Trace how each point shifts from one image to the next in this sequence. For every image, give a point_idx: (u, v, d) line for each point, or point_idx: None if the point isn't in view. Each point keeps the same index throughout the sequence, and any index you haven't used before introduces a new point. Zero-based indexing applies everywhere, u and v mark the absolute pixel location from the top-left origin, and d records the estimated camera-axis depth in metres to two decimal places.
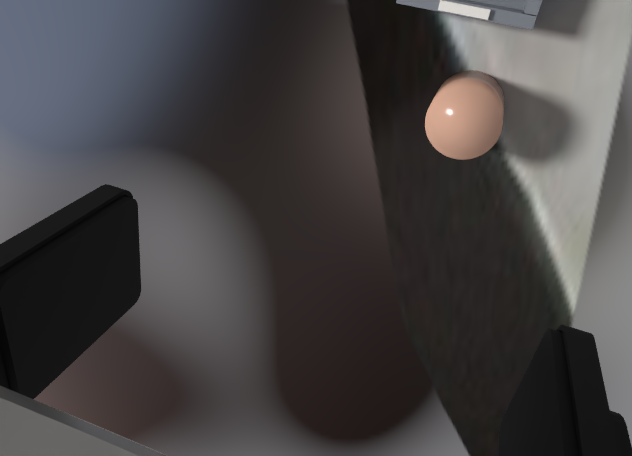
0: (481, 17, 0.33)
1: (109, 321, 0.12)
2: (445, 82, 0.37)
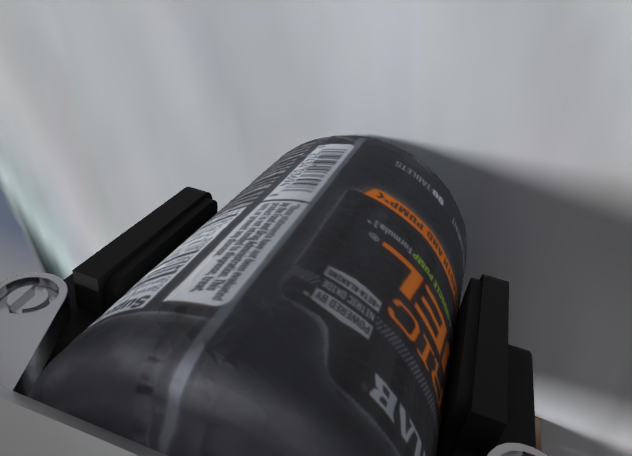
0: None
1: None
2: None
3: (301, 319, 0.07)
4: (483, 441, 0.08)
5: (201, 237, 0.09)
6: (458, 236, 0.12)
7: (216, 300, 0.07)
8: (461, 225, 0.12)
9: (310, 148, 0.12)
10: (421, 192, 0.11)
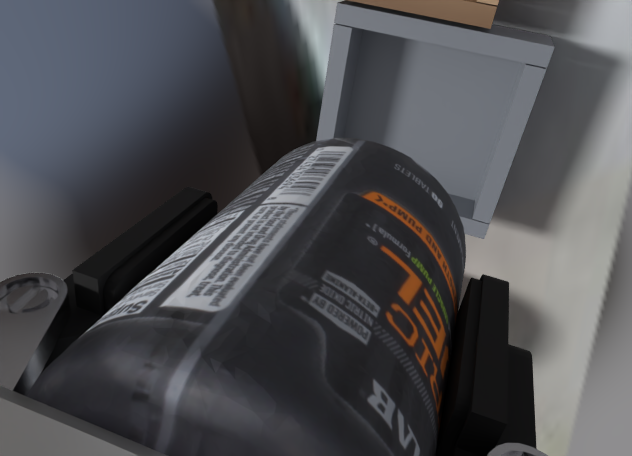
0: None
1: None
2: None
3: (300, 324, 0.06)
4: (483, 441, 0.08)
5: (199, 241, 0.09)
6: (457, 239, 0.12)
7: (213, 306, 0.06)
8: (460, 228, 0.12)
9: (309, 150, 0.12)
10: (420, 195, 0.11)
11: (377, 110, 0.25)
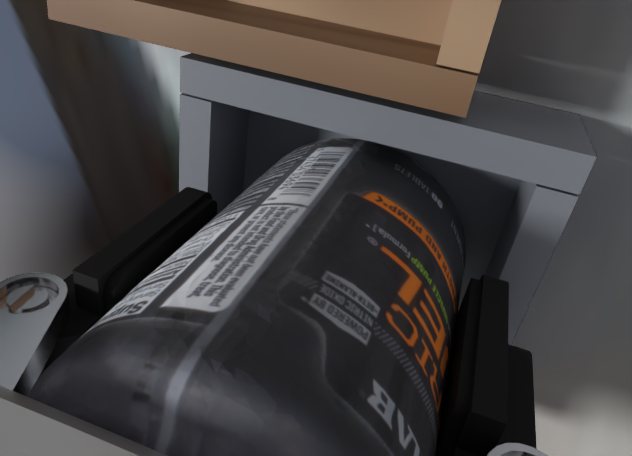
0: None
1: None
2: None
3: (299, 325, 0.06)
4: (483, 441, 0.08)
5: (199, 241, 0.09)
6: (457, 239, 0.12)
7: (214, 306, 0.07)
8: (460, 228, 0.12)
9: (309, 151, 0.12)
10: (420, 195, 0.11)
11: None
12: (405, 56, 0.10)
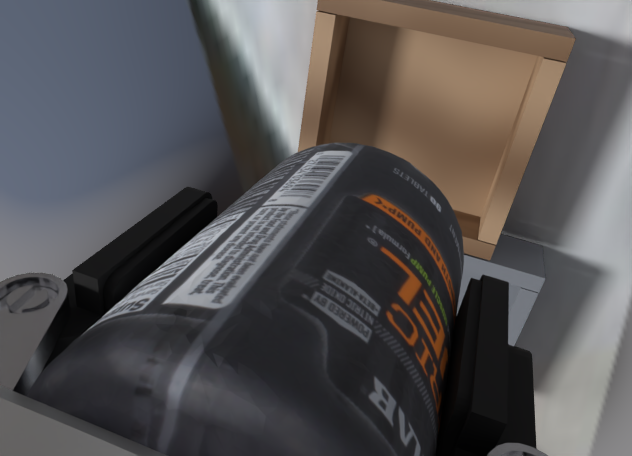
0: None
1: None
2: None
3: (300, 322, 0.07)
4: (483, 441, 0.08)
5: (200, 242, 0.09)
6: (456, 243, 0.12)
7: (215, 303, 0.07)
8: (458, 232, 0.12)
9: (308, 155, 0.12)
10: (419, 199, 0.11)
11: None
12: (463, 233, 0.23)
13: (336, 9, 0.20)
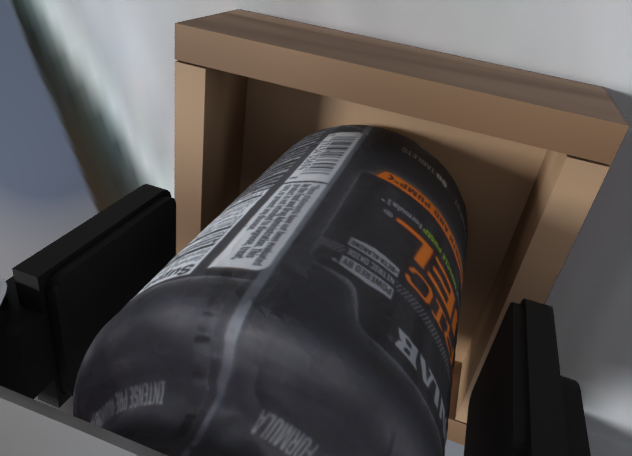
0: None
1: None
2: None
3: (332, 280, 0.07)
4: None
5: (230, 216, 0.09)
6: (461, 216, 0.13)
7: (256, 266, 0.07)
8: (463, 207, 0.13)
9: (321, 136, 0.13)
10: (426, 175, 0.12)
11: None
12: None
13: (206, 59, 0.12)
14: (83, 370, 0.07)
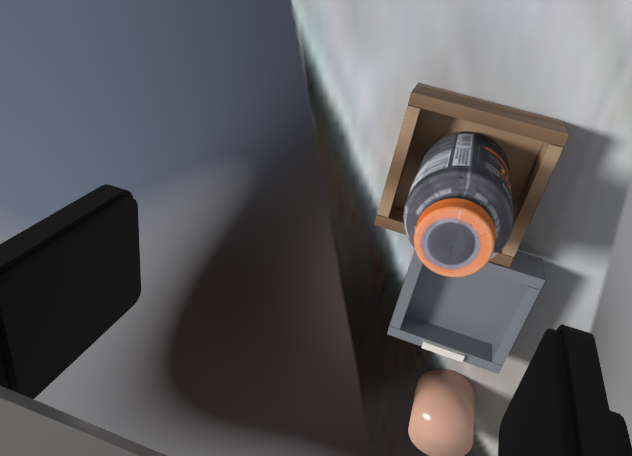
0: (457, 359, 0.39)
1: (109, 321, 0.12)
2: (426, 380, 0.44)
3: (486, 169, 0.28)
4: None
5: (443, 157, 0.30)
6: (508, 167, 0.33)
7: (466, 165, 0.28)
8: (508, 164, 0.34)
9: (456, 135, 0.34)
10: (498, 150, 0.33)
11: (433, 287, 0.40)
12: None
13: (421, 105, 0.32)
14: (418, 191, 0.28)
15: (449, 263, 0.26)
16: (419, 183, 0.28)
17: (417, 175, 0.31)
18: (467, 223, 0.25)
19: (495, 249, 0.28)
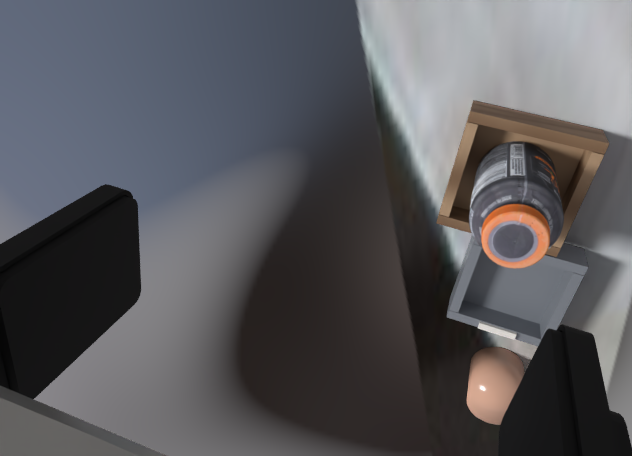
0: (509, 337, 0.45)
1: (109, 321, 0.12)
2: (480, 357, 0.50)
3: (539, 178, 0.33)
4: None
5: (500, 167, 0.36)
6: (555, 171, 0.39)
7: (522, 175, 0.34)
8: None
9: (508, 145, 0.39)
10: (546, 157, 0.38)
11: (486, 275, 0.46)
12: None
13: (479, 121, 0.38)
14: (483, 198, 0.34)
15: (512, 257, 0.32)
16: (483, 191, 0.34)
17: (478, 182, 0.37)
18: (527, 224, 0.31)
19: None
